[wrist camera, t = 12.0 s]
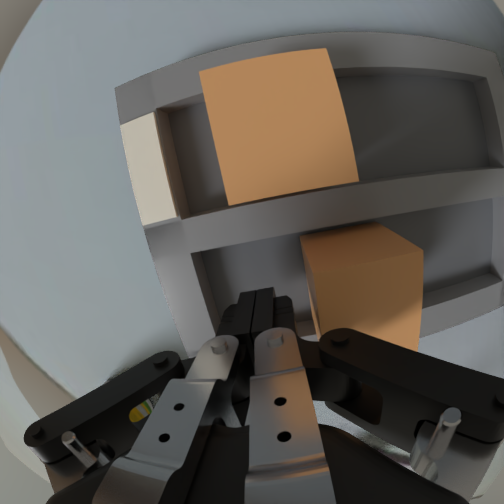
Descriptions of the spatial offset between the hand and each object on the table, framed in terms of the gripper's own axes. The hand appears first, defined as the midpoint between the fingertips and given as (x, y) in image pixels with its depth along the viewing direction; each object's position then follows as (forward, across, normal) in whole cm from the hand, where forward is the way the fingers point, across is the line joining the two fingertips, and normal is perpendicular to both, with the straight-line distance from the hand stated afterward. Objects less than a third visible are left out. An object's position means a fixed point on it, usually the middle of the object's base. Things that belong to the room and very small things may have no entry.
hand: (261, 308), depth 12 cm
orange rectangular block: (+2, -4, 0) cm, 5 cm away
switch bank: (+4, -6, -4) cm, 8 cm away
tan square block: (+2, -2, -7) cm, 8 cm away
